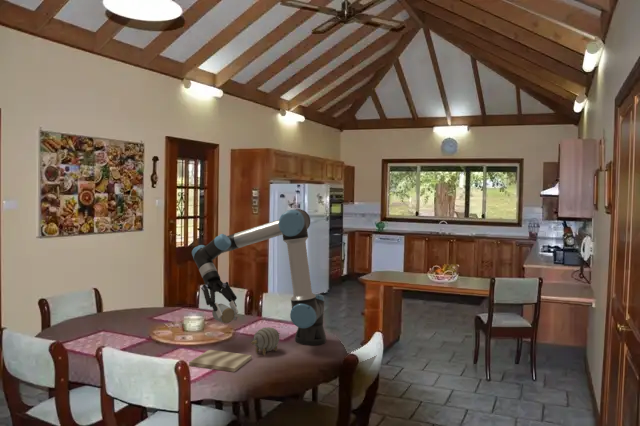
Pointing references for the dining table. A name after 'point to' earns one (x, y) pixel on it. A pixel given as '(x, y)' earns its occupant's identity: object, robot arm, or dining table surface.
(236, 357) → the birch board
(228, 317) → the ceramic mug
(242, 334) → the dining table surface
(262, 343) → the toy sheep
